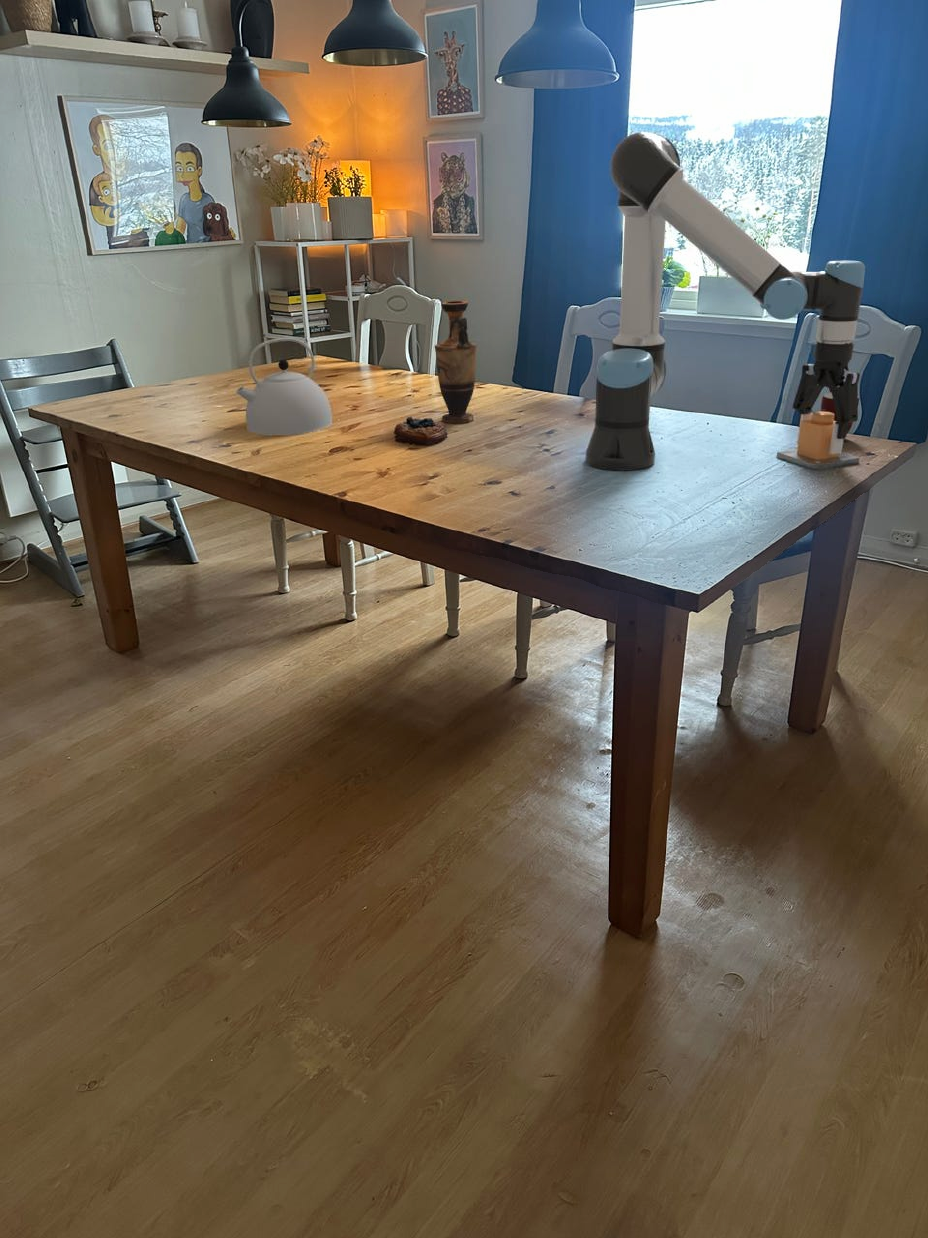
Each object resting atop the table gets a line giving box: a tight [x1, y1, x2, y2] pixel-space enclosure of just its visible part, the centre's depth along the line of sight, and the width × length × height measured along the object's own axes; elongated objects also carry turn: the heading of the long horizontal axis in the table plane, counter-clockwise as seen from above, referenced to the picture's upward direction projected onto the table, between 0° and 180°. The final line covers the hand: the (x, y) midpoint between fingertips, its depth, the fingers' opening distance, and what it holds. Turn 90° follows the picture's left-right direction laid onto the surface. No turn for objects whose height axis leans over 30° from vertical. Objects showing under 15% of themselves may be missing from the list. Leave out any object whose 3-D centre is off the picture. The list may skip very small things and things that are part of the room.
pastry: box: [393, 416, 448, 447], centre depth 220 cm, size 11×12×6 cm
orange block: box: [797, 410, 839, 460], centre depth 194 cm, size 6×6×9 cm
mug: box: [820, 392, 860, 436], centre depth 210 cm, size 10×8×10 cm
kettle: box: [235, 337, 333, 436], centre depth 233 cm, size 25×23×22 cm
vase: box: [434, 300, 478, 424], centre depth 232 cm, size 11×11×30 cm
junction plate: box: [776, 448, 860, 472], centre depth 195 cm, size 12×12×7 cm
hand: (818, 447), depth 195 cm, fingers open, 9 cm apart
